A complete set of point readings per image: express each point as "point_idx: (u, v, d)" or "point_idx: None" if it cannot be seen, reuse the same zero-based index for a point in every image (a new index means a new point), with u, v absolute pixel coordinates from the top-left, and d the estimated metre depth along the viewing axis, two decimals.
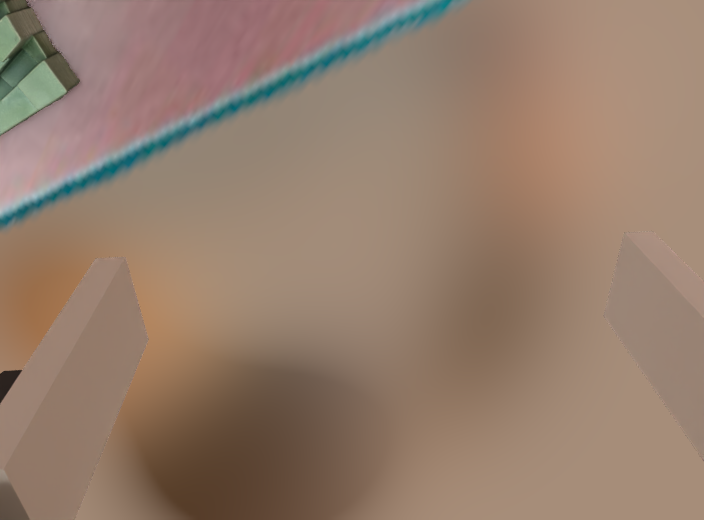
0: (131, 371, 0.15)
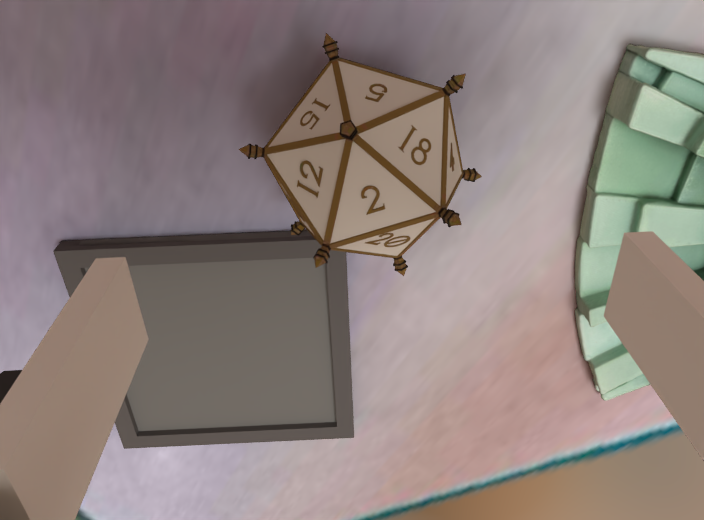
0: (131, 371, 0.15)
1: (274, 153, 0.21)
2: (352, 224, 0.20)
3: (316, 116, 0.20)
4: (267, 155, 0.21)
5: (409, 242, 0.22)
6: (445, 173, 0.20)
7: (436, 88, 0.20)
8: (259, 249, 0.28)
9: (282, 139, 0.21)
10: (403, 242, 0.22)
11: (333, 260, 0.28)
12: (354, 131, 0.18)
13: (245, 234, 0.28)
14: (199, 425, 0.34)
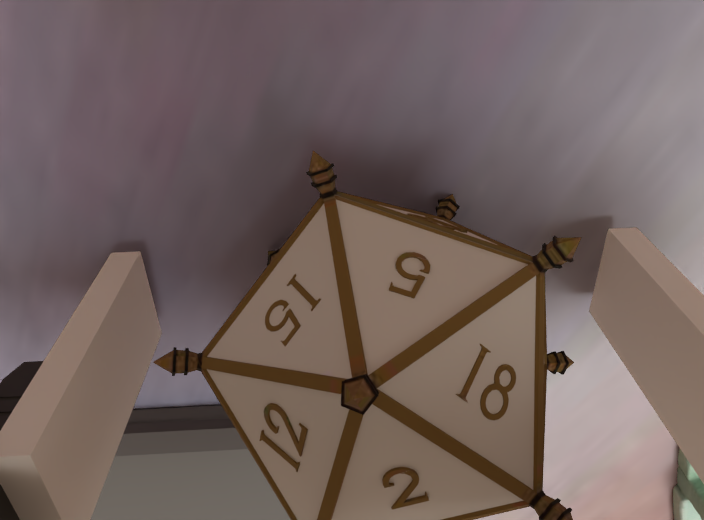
0: (146, 364, 0.15)
1: (218, 372, 0.11)
2: None
3: (295, 316, 0.10)
4: (207, 371, 0.11)
5: None
6: (541, 424, 0.10)
7: (521, 259, 0.11)
8: (215, 437, 0.18)
9: (233, 348, 0.11)
10: None
11: None
12: (372, 399, 0.08)
13: (195, 410, 0.19)
14: None
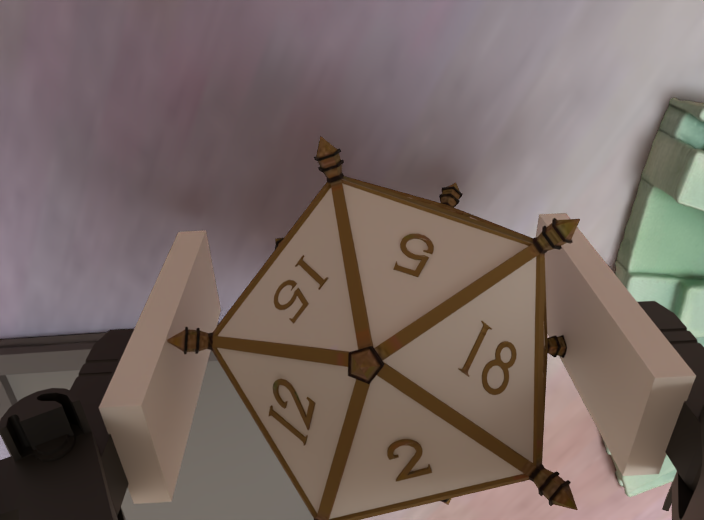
0: None
1: (229, 350, 0.12)
2: (370, 493, 0.11)
3: (303, 295, 0.11)
4: (217, 349, 0.12)
5: None
6: (541, 400, 0.11)
7: (522, 241, 0.11)
8: None
9: (242, 327, 0.12)
10: None
11: None
12: (378, 369, 0.09)
13: None
14: None
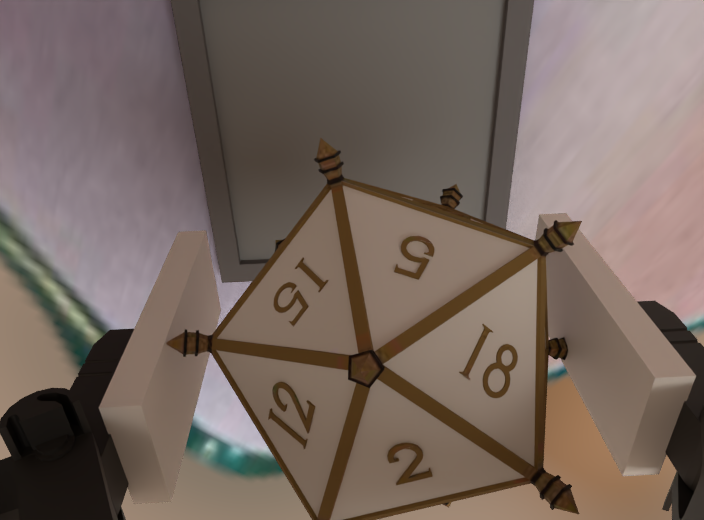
0: None
1: (228, 352, 0.12)
2: (370, 497, 0.11)
3: (303, 298, 0.11)
4: (217, 352, 0.12)
5: None
6: (542, 403, 0.11)
7: (523, 243, 0.11)
8: None
9: (242, 329, 0.11)
10: None
11: None
12: (378, 373, 0.09)
13: None
14: None
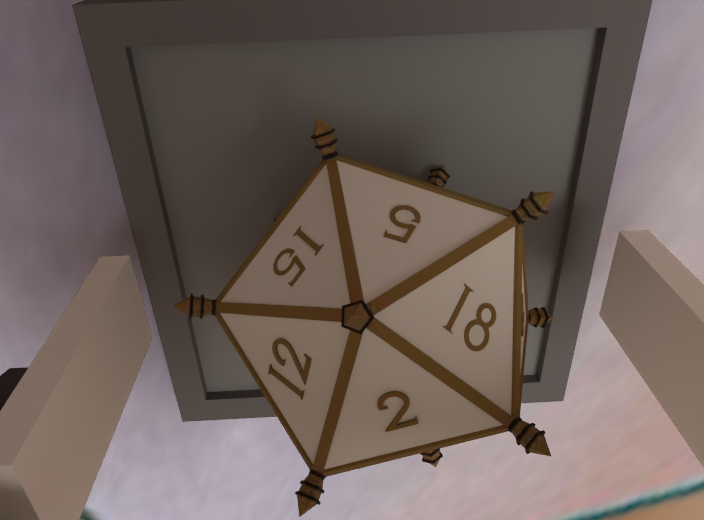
0: (135, 369, 0.15)
1: (231, 314, 0.13)
2: (361, 444, 0.12)
3: (300, 261, 0.12)
4: (220, 314, 0.13)
5: None
6: (519, 357, 0.12)
7: (502, 212, 0.12)
8: (482, 6, 0.14)
9: (244, 292, 0.12)
10: None
11: (620, 35, 0.14)
12: (368, 321, 0.10)
13: None
14: None
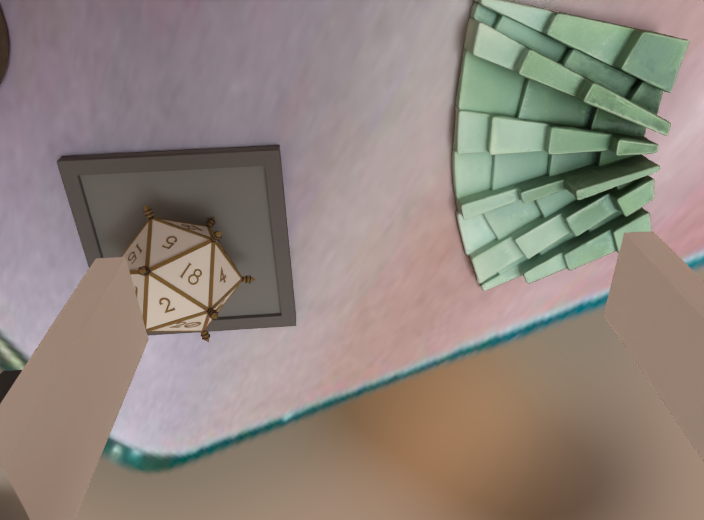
0: (131, 371, 0.15)
1: None
2: (157, 318, 0.34)
3: (135, 256, 0.34)
4: None
5: (203, 324, 0.37)
6: (211, 288, 0.34)
7: (207, 238, 0.35)
8: (214, 159, 0.37)
9: None
10: (198, 324, 0.36)
11: (270, 168, 0.37)
12: (146, 272, 0.32)
13: (203, 149, 0.37)
14: None
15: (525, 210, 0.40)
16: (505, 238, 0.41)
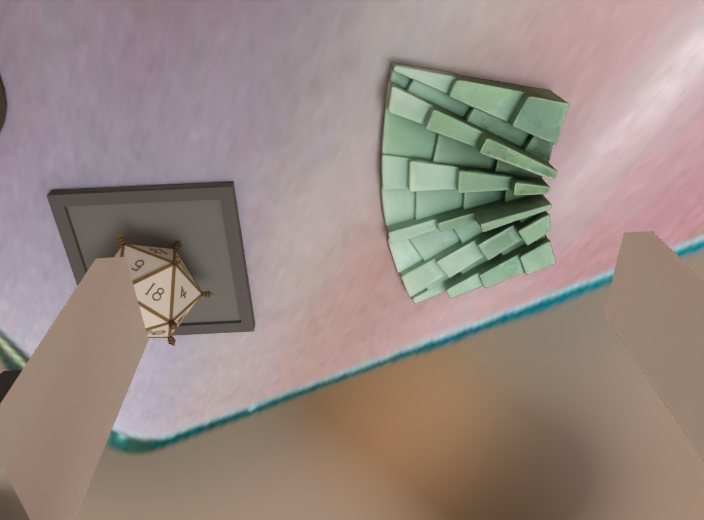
0: (131, 371, 0.15)
1: None
2: None
3: None
4: None
5: (167, 332, 0.44)
6: (172, 303, 0.42)
7: (169, 261, 0.42)
8: (177, 194, 0.44)
9: None
10: (163, 332, 0.44)
11: (225, 201, 0.44)
12: None
13: (169, 185, 0.44)
14: None
15: (446, 237, 0.47)
16: (430, 260, 0.48)
